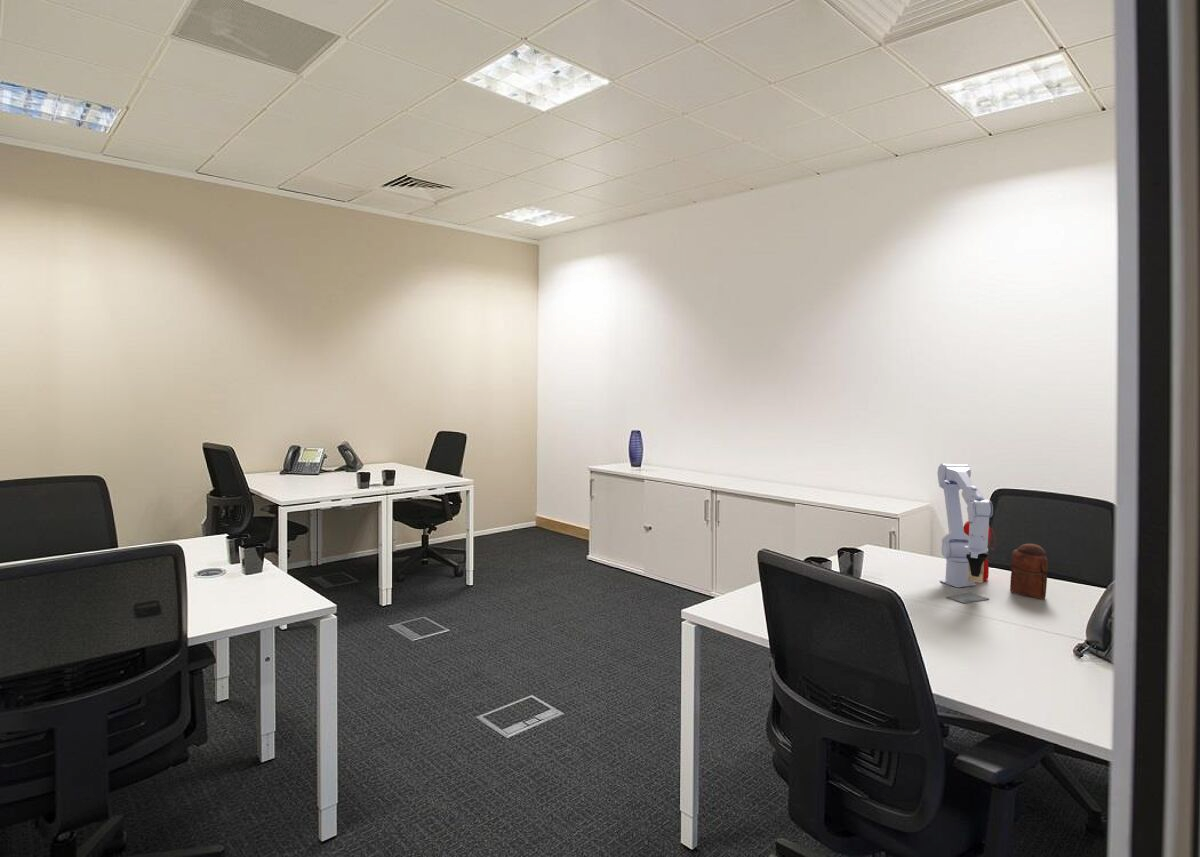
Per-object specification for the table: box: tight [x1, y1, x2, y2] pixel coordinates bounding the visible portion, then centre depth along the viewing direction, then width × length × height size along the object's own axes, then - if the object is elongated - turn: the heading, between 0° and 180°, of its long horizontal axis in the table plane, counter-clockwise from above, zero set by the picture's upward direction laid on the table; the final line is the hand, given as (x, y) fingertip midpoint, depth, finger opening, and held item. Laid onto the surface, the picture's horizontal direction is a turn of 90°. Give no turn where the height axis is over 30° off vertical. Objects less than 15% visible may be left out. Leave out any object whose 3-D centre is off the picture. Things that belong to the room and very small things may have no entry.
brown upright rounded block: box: [1009, 543, 1049, 600], centre depth 235 cm, size 12×6×18 cm, turn 39°
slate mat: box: [945, 591, 990, 605], centre depth 230 cm, size 12×7×1 cm, turn 113°
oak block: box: [968, 562, 984, 584], centre depth 230 cm, size 4×4×7 cm
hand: (976, 574), depth 230 cm, fingers closed on oak block, 4 cm apart
